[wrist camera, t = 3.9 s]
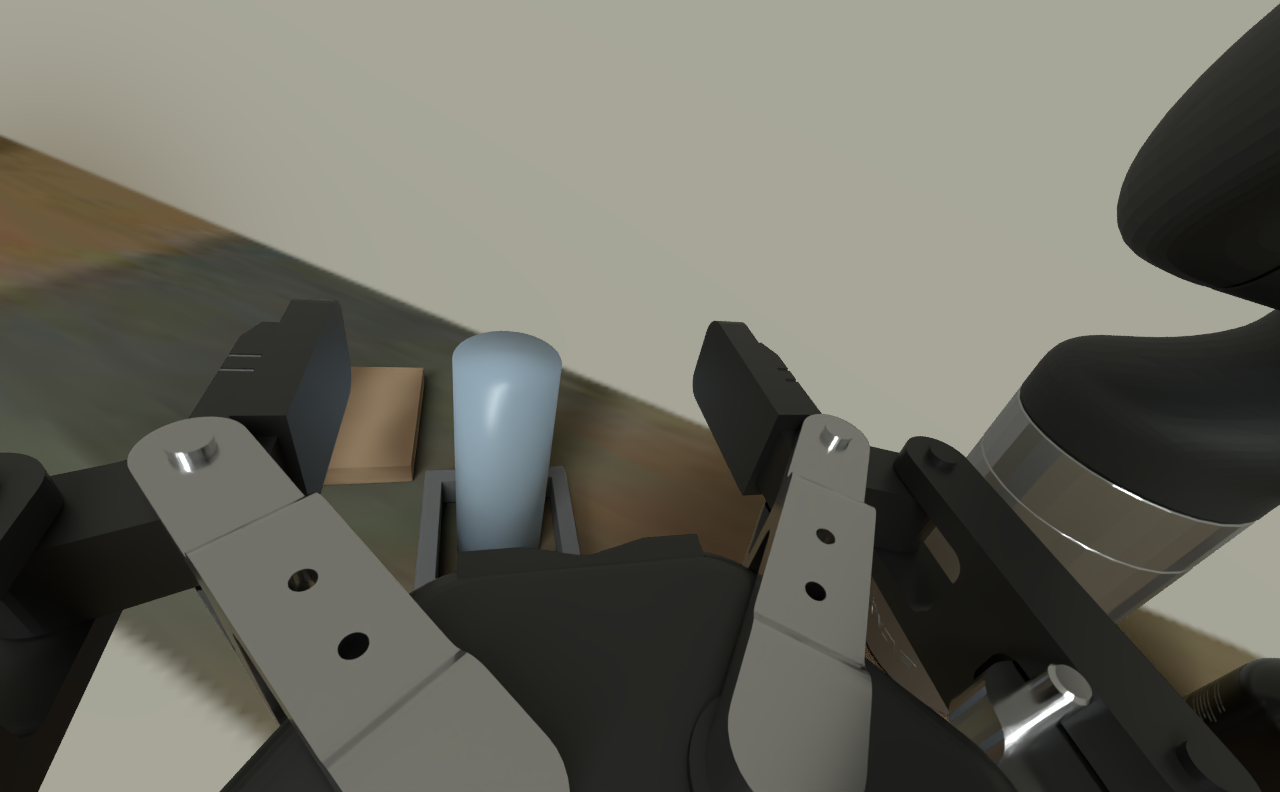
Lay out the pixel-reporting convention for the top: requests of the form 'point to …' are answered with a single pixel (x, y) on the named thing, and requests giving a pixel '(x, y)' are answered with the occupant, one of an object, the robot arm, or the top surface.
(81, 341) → the top surface
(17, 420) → the top surface
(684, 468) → the top surface
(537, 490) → the canister
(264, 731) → the top surface
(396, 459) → the walnut board
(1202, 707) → the supplement bottle
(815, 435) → the robot arm
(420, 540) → the square grey frame
